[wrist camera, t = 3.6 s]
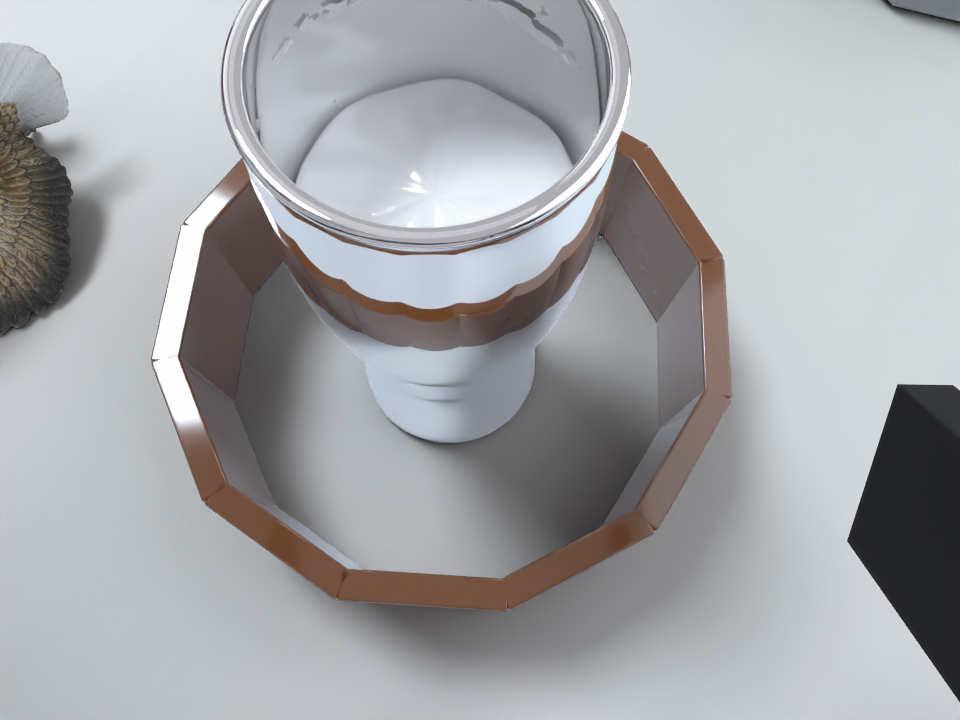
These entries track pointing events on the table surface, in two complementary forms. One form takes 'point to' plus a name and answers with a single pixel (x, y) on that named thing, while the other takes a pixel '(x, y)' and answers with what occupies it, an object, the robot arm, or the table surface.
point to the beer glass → (432, 180)
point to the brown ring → (250, 508)
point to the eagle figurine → (30, 187)
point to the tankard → (932, 7)
